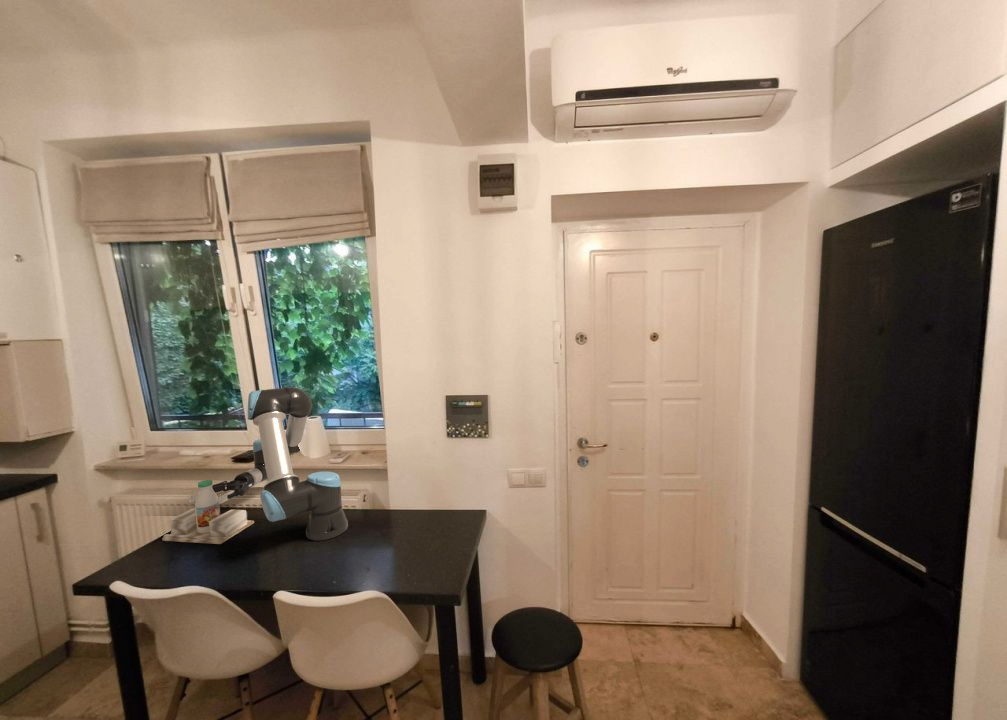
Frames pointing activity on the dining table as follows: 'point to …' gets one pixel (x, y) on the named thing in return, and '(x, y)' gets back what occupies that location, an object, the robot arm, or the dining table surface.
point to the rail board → (219, 527)
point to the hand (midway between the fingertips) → (204, 500)
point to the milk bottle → (206, 506)
